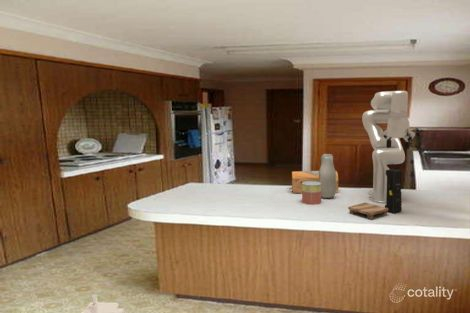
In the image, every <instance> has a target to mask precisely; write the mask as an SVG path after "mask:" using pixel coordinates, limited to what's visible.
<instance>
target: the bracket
mask: <svg viewBox="0 0 470 313" xmlns="http://www.w3.org/2000/svg"><path fill="white" fill-rule="evenodd" d="M91 299H92V302H91V301H90V302H89V304H88V305H86V307H85V308H84V309H83V310H82V311H81V312H80V313H126V312H125V308H119V303H118V302H108V301H107V302H103V301H102V302H101V301H100V302H99V301H98V295H97V293H94V294H92V295H91Z"/></svg>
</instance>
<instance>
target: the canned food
mask: <svg viewBox="0 0 470 313" xmlns="http://www.w3.org/2000/svg"><path fill="white" fill-rule="evenodd" d="M301 202H302V203H303V204H304V205H305V204H306V205H310V206H311V205H315V204H316V205H320V204H321V203H322V197H321V183H320V182H316V181H306V182H302V194H301Z"/></svg>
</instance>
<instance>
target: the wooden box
mask: <svg viewBox="0 0 470 313" xmlns="http://www.w3.org/2000/svg"><path fill="white" fill-rule="evenodd" d="M335 172H336V192H335V194H339V181H340V180H339V173H338V170H335ZM306 181H316V182H319V170H300V171H291V191H293V192H292V194H294V193H302V182H306Z"/></svg>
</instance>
